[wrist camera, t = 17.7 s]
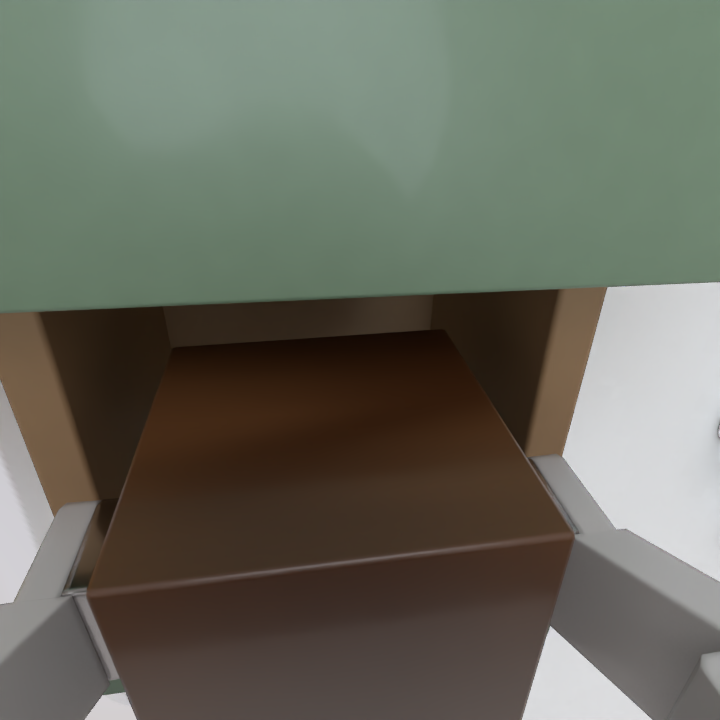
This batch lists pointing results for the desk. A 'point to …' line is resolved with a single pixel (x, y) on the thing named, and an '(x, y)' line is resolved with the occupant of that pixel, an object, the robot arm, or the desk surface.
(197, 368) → the block
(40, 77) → the cabinet
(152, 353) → the drawer
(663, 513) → the desk surface
